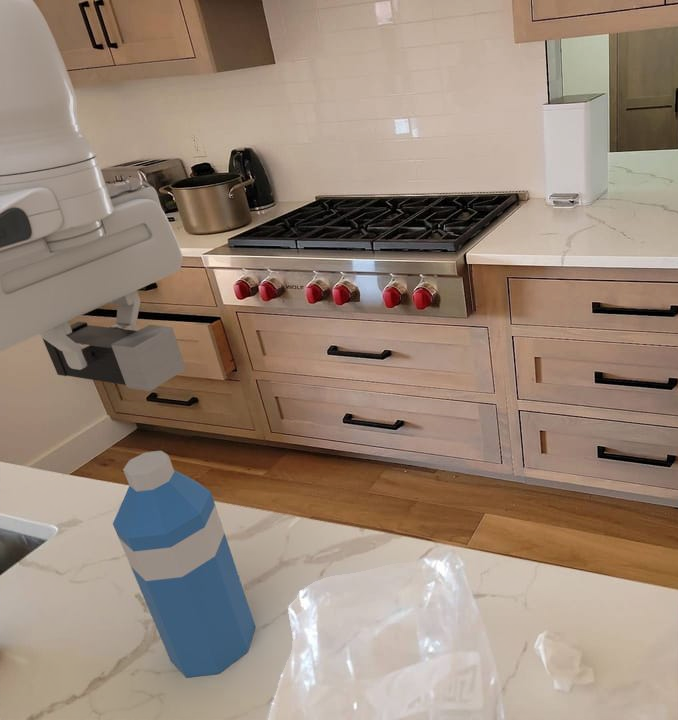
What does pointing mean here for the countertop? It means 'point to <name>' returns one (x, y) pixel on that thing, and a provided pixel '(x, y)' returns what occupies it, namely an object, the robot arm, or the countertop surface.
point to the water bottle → (183, 566)
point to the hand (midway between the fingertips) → (106, 353)
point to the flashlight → (124, 355)
